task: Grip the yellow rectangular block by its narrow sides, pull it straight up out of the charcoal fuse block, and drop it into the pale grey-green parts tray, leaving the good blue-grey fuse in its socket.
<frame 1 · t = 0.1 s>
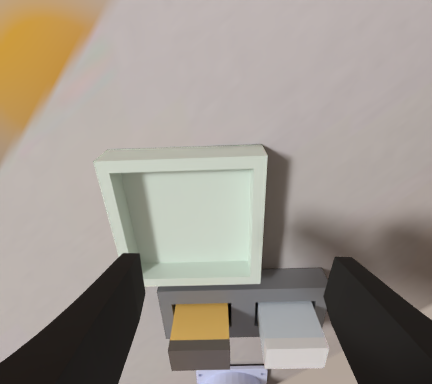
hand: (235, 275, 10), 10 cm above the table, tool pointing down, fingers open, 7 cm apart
parts tray: (190, 213, 20), on the table
yellow rectangular block: (203, 294, 24), resting in fuse block
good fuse: (278, 292, 24), resting in fuse block
fuse block: (241, 294, 24), on the table
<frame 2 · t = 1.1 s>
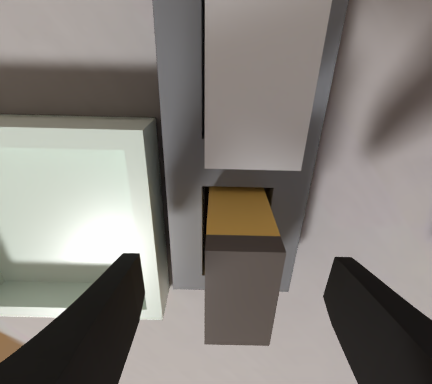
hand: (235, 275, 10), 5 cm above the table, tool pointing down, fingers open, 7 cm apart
parts tray: (66, 214, 14), on the table
yellow rectangular block: (232, 210, 14), resting in fuse block
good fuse: (240, 65, 11), resting in fuse block
fuse block: (236, 147, 12), on the table
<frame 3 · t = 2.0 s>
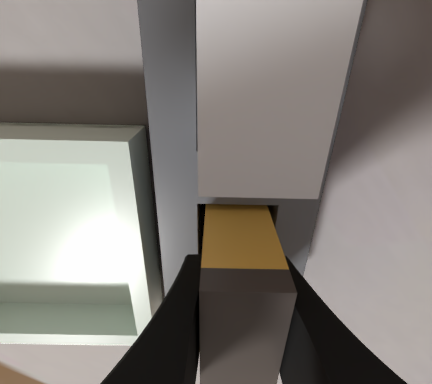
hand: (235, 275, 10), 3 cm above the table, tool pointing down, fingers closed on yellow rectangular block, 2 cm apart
parts tray: (48, 231, 13), on the table
yellow rectangular block: (231, 226, 13), resting in fuse block, touching gripper
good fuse: (240, 67, 10), resting in fuse block
fuse block: (235, 158, 11), on the table
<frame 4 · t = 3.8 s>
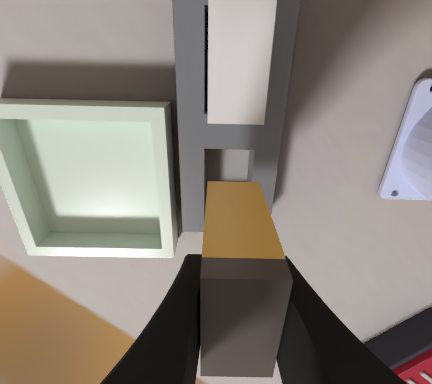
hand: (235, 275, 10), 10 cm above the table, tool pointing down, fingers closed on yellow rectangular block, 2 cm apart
parts tray: (100, 177, 19), on the table
yellow rectangular block: (231, 221, 13), point 6 cm above the table, touching gripper
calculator: (389, 358, 29), on the table
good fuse: (231, 63, 15), resting in fuse block
fuse block: (228, 123, 17), on the table
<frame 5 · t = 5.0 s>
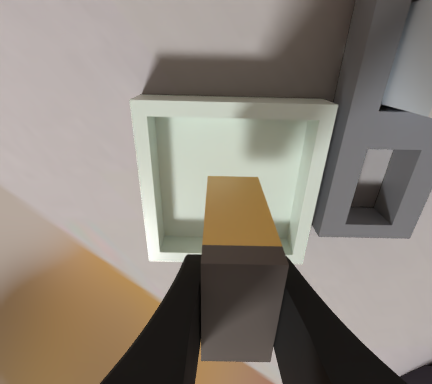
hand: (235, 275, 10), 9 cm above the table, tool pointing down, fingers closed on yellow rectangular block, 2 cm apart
parts tray: (228, 179, 18), on the table
yellow rectangular block: (230, 215, 13), point 5 cm above the table, touching gripper
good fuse: (397, 57, 14), resting in fuse block
fuse block: (378, 122, 16), on the table
when the fingers open (5 cm above the table, at t = 5.8 s): yellow rectangular block stays where it is, resting on parts tray.
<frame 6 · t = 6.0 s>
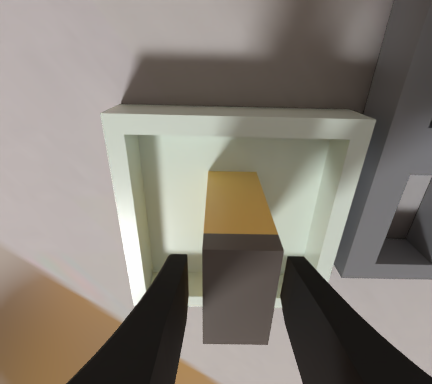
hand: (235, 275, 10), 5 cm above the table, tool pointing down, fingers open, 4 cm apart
parts tray: (229, 206, 14), on the table
yellow rectangular block: (230, 209, 14), resting on parts tray
fuse block: (418, 138, 13), on the table
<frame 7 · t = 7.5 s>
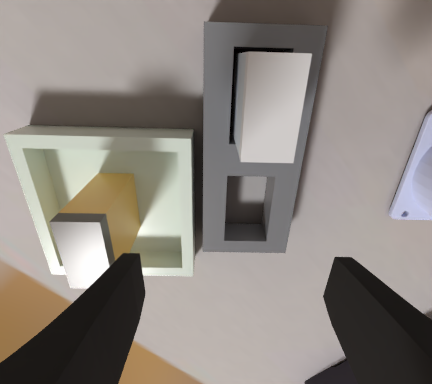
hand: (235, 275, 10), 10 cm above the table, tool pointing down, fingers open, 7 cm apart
parts tray: (122, 198, 19), on the table
yellow rectangular block: (120, 201, 19), resting on parts tray
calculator: (382, 366, 30), on the table
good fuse: (253, 94, 16), resting in fuse block
fuse block: (248, 149, 18), on the table
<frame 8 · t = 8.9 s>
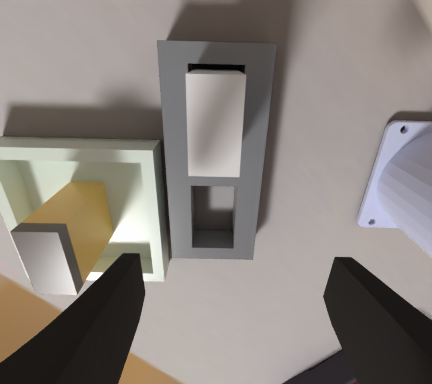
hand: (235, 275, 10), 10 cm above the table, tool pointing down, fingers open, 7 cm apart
parts tray: (95, 206, 20), on the table
yellow rectangular block: (93, 208, 20), resting on parts tray
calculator: (357, 370, 31), on the table
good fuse: (215, 107, 17), resting in fuse block
fuse block: (214, 159, 18), on the table
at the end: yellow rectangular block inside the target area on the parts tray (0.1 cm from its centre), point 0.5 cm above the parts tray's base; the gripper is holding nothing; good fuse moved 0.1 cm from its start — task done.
